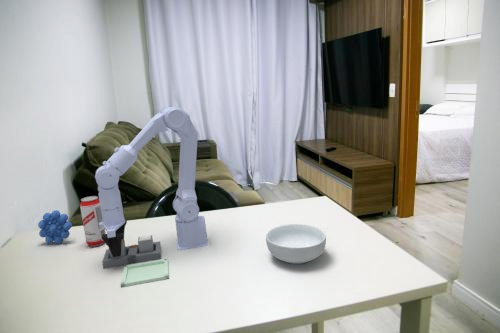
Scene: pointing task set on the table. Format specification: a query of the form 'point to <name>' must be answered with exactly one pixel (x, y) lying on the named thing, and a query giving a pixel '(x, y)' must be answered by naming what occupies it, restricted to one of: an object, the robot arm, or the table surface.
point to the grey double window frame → (132, 256)
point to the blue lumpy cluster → (54, 227)
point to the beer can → (92, 220)
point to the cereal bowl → (296, 242)
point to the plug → (123, 250)
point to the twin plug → (145, 244)
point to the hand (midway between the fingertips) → (118, 250)
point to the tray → (145, 272)
